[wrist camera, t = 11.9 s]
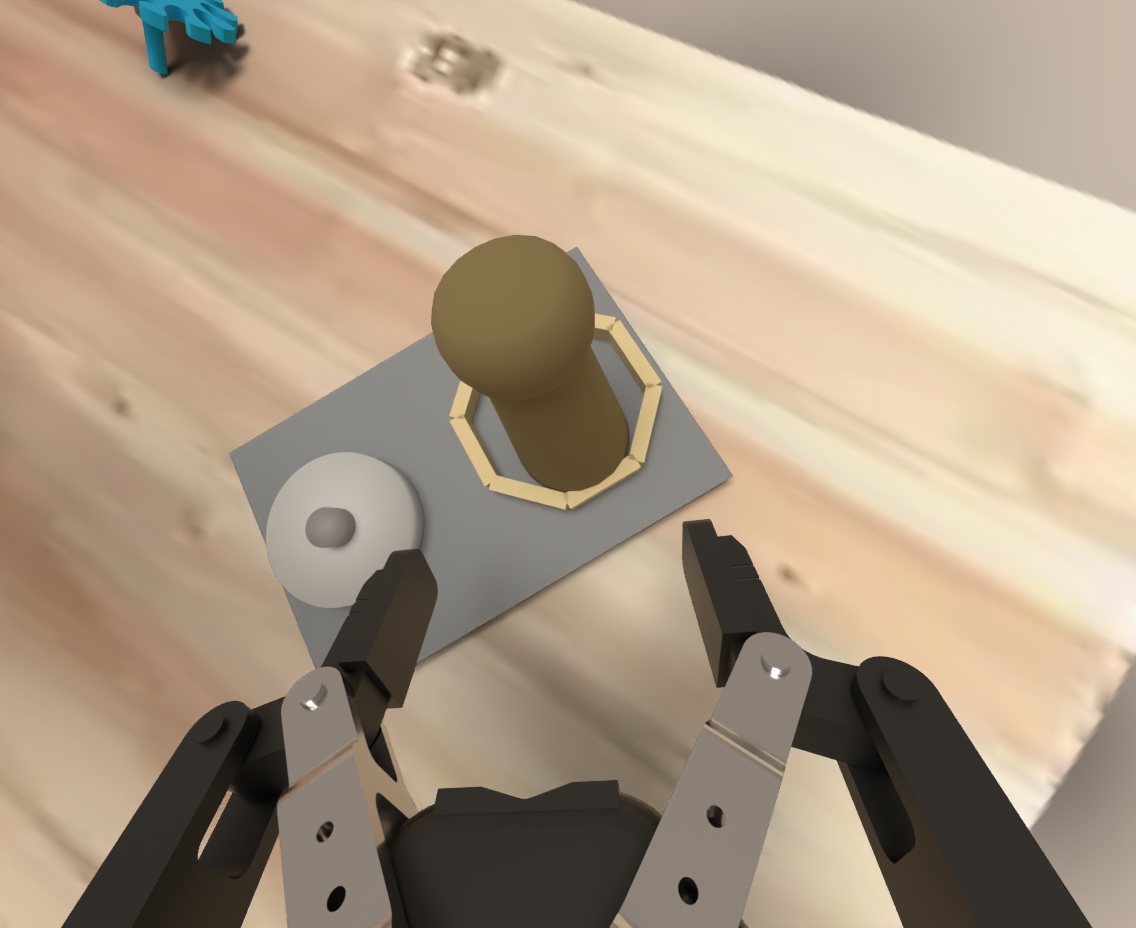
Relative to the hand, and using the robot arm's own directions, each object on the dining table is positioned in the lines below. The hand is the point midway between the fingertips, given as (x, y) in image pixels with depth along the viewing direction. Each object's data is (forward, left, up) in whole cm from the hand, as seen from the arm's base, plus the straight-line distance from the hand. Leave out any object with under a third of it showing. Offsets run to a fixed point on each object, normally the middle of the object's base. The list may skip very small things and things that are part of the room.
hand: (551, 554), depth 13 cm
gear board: (-3, +7, -10) cm, 13 cm away
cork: (+3, +5, -9) cm, 10 cm away
